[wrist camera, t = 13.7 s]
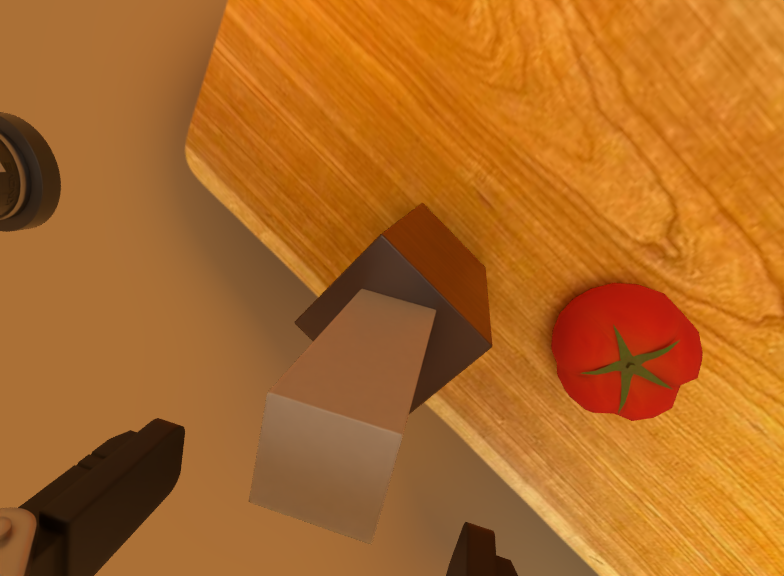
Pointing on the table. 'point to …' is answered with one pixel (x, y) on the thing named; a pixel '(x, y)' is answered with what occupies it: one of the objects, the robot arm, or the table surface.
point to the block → (342, 417)
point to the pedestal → (419, 294)
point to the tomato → (625, 350)
